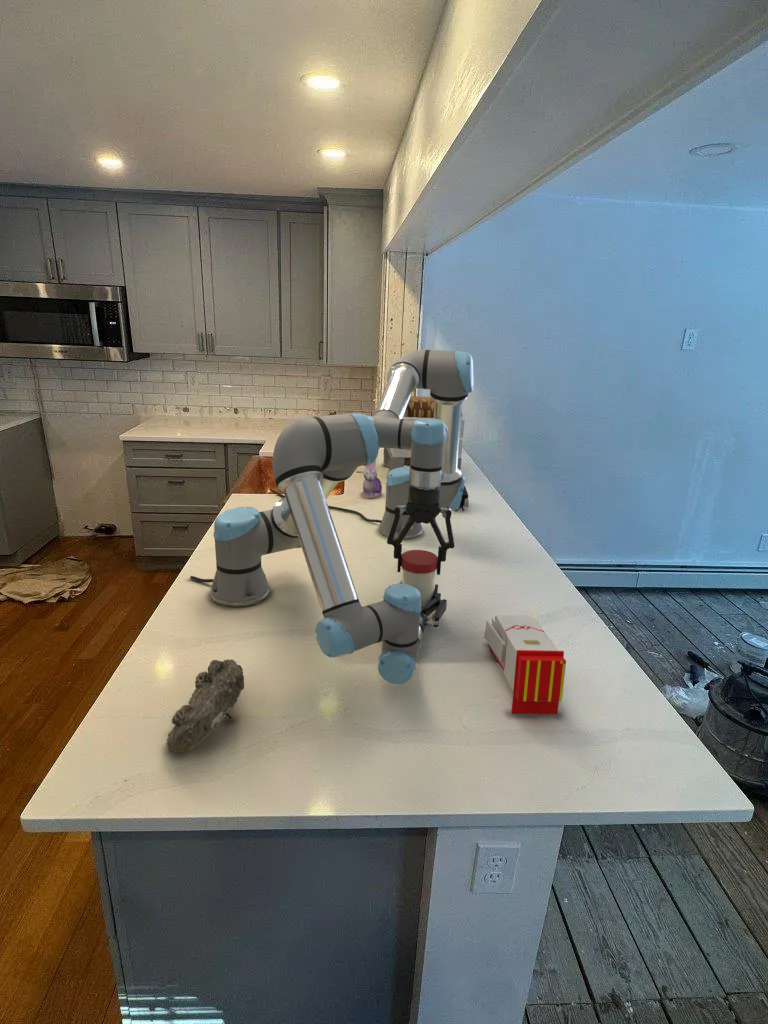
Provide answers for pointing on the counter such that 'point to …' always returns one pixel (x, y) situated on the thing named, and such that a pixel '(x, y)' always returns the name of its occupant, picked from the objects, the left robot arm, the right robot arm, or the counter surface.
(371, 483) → the figurine
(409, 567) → the lid
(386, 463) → the grey slatted crate
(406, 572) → the jar
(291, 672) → the counter surface
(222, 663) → the fossil
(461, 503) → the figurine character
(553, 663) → the toy
